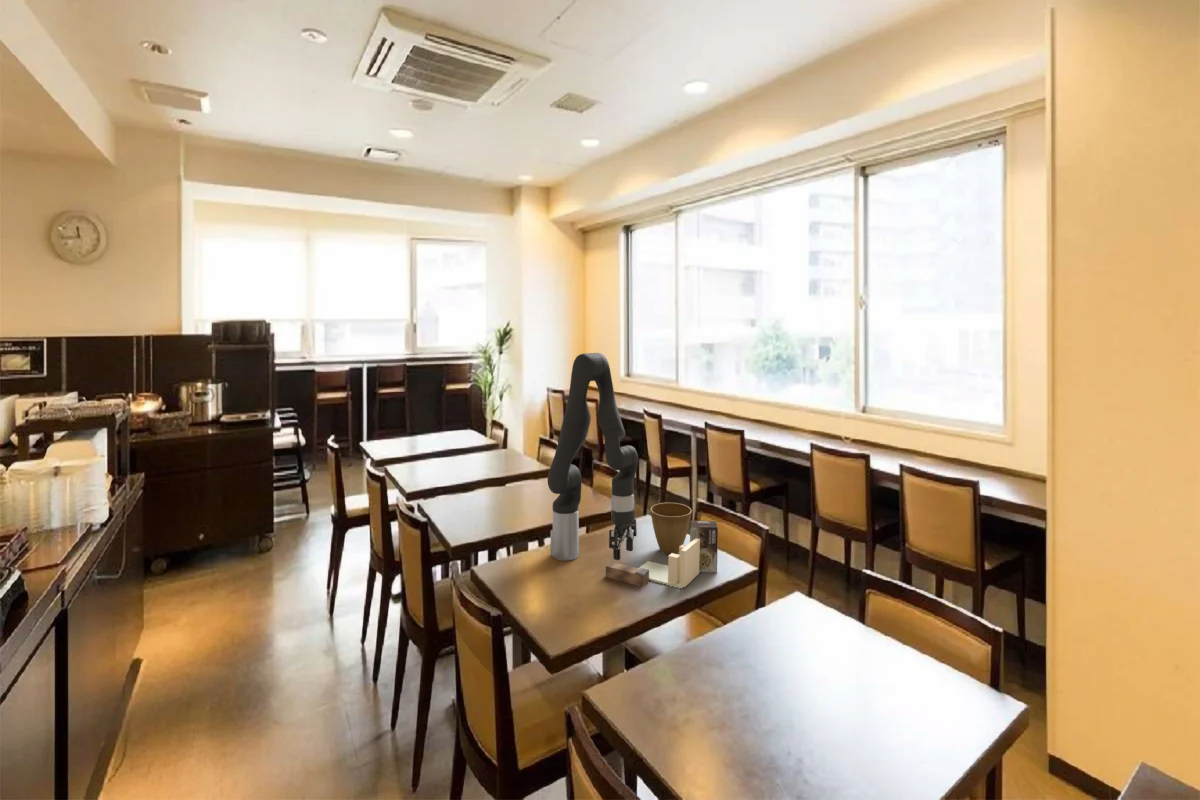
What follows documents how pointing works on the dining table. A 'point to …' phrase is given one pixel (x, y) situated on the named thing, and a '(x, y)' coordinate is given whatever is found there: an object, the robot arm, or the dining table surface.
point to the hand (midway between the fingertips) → (623, 555)
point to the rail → (627, 574)
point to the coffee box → (706, 543)
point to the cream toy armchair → (677, 566)
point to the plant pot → (670, 525)
